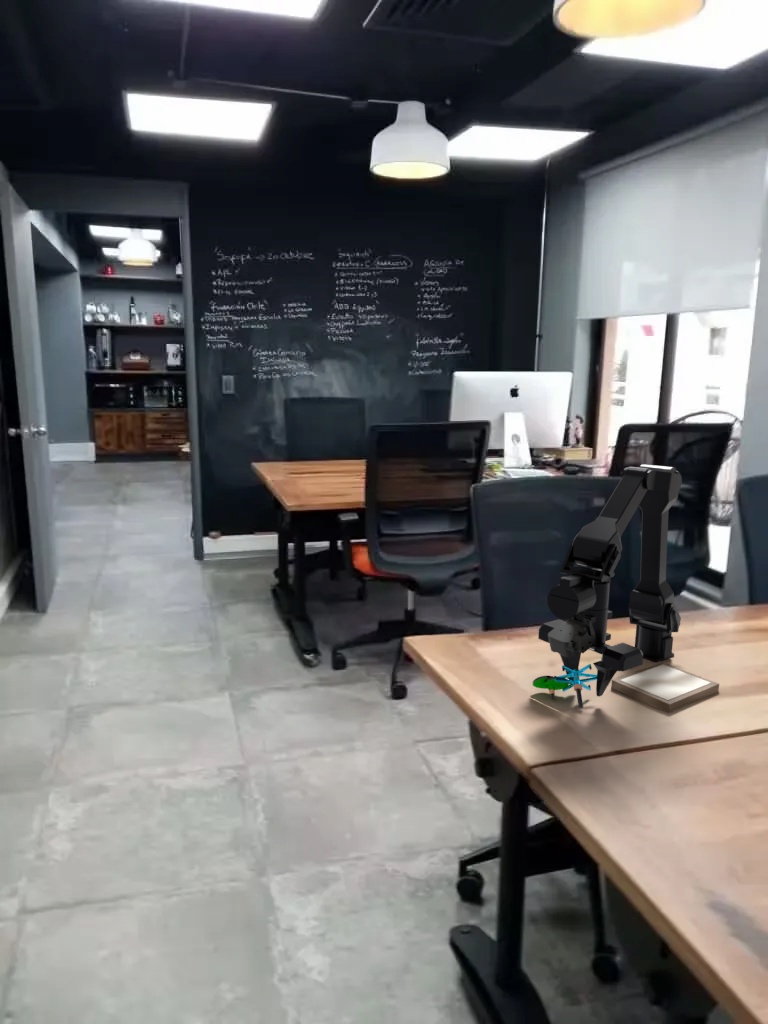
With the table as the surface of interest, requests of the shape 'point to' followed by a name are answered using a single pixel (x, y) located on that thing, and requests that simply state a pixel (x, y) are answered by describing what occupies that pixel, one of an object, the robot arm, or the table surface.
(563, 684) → the stick construction toy
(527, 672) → the table surface
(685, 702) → the walnut framed pale panel
